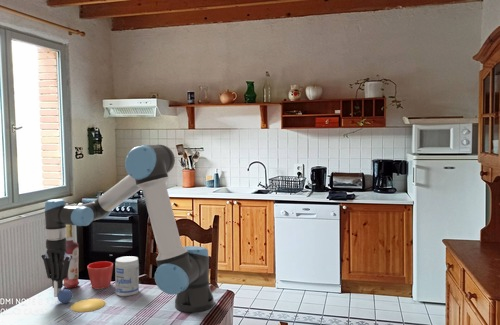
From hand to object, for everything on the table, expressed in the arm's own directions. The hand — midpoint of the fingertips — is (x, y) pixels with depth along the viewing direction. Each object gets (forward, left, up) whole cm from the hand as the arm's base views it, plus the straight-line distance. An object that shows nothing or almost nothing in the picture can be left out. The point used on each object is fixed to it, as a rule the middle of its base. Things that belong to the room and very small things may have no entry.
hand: (57, 295), depth 177 cm
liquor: (+17, -6, -3) cm, 18 cm away
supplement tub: (-2, -27, -3) cm, 27 cm away
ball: (-2, -3, 0) cm, 3 cm away
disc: (-9, -11, -3) cm, 14 cm away
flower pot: (+12, -18, -3) cm, 22 cm away
